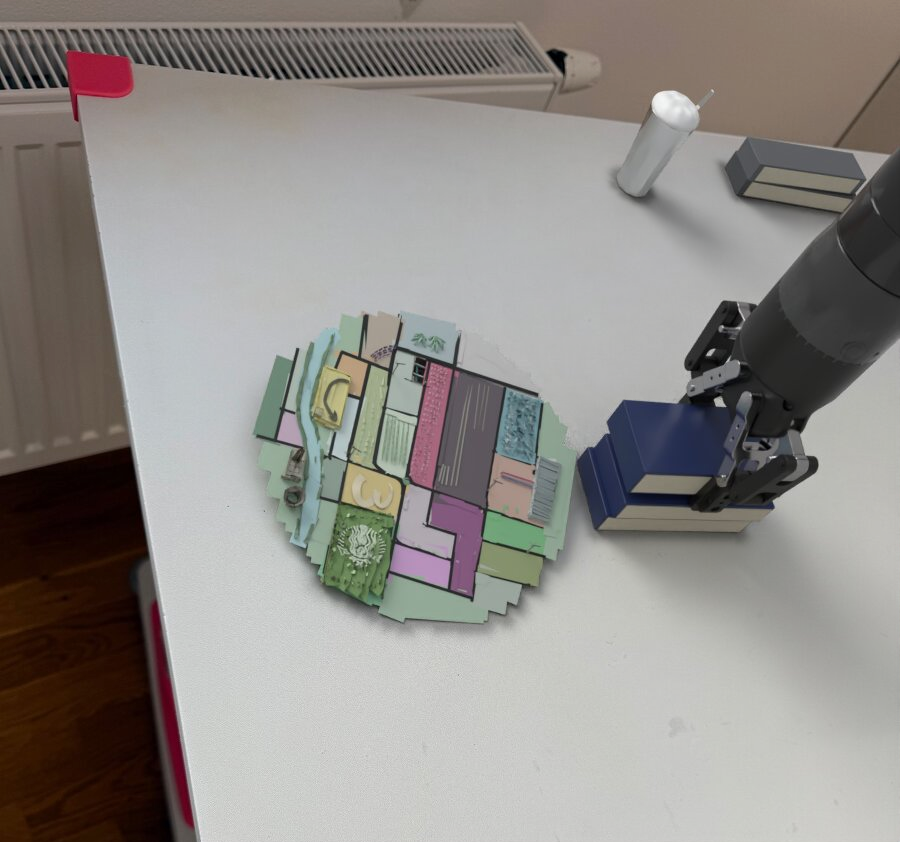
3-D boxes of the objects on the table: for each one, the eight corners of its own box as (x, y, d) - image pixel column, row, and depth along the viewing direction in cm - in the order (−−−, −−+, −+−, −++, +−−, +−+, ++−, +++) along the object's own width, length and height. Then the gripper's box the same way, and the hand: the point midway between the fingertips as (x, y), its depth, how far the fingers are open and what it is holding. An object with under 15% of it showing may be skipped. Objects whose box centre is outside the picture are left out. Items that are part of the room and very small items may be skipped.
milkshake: (667, 200, 92) (726, 109, 84) (624, 204, 90) (680, 111, 82) (645, 166, 94) (700, 73, 85) (602, 168, 91) (655, 73, 83)
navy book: (754, 430, 74) (775, 410, 72) (779, 498, 72) (801, 479, 69) (606, 421, 69) (623, 399, 67) (626, 494, 67) (645, 473, 65)
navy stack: (722, 468, 78) (751, 439, 75) (745, 535, 76) (775, 508, 72) (575, 461, 73) (599, 430, 70) (595, 533, 71) (620, 504, 68)
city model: (257, 656, 60) (278, 626, 55) (204, 329, 66) (218, 274, 61) (597, 620, 70) (642, 591, 65) (523, 340, 77) (559, 293, 71)
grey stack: (832, 184, 103) (857, 153, 100) (846, 216, 102) (872, 185, 98) (722, 164, 98) (745, 131, 95) (735, 197, 96) (759, 164, 93)
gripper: (929, 413, 56) (758, 554, 70) (845, 228, 62) (702, 392, 76) (826, 405, 53) (669, 553, 67) (748, 212, 59) (619, 385, 73)
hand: (687, 467), depth 71 cm, fingers closed on navy book, 6 cm apart
